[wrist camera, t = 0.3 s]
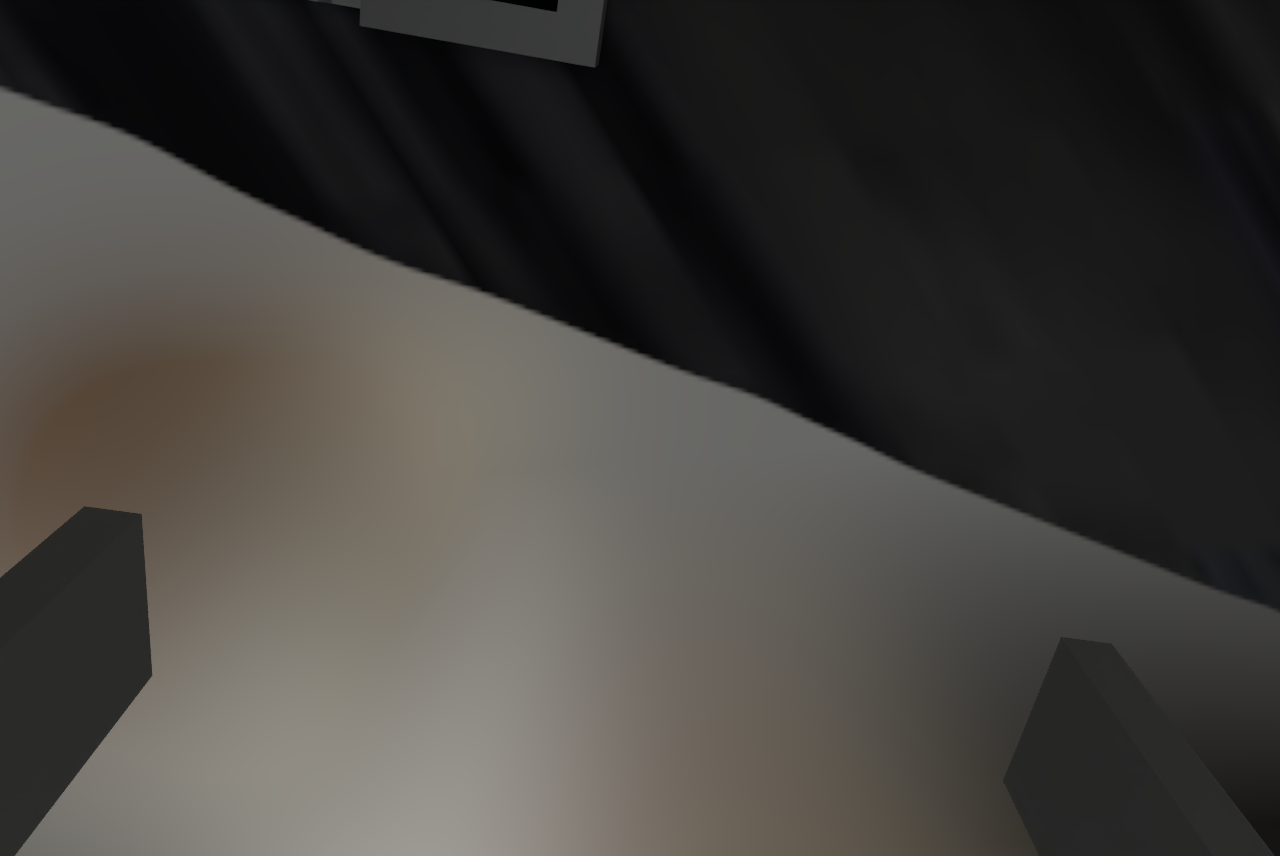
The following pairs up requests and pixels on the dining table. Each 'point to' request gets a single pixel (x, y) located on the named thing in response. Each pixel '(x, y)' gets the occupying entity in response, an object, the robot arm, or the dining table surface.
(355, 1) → the shallow gray rectangular tray
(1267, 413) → the dining table surface
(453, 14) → the button housing
